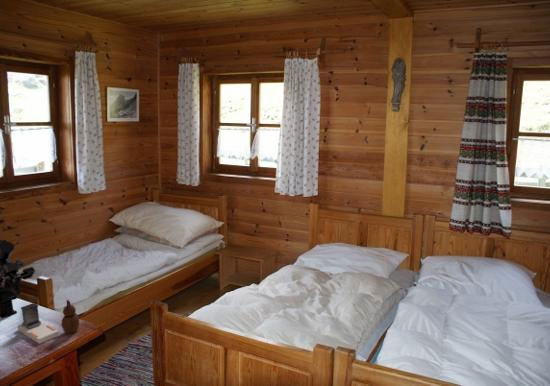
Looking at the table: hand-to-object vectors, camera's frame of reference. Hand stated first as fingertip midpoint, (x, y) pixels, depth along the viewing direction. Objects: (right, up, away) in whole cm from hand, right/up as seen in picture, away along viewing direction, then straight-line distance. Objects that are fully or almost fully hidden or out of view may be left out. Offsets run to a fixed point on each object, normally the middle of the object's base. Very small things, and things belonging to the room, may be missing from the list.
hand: (19, 294), depth 198 cm
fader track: (+11, -15, -5) cm, 19 cm away
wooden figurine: (+24, -15, -4) cm, 29 cm away
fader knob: (+7, -12, -3) cm, 14 cm away
